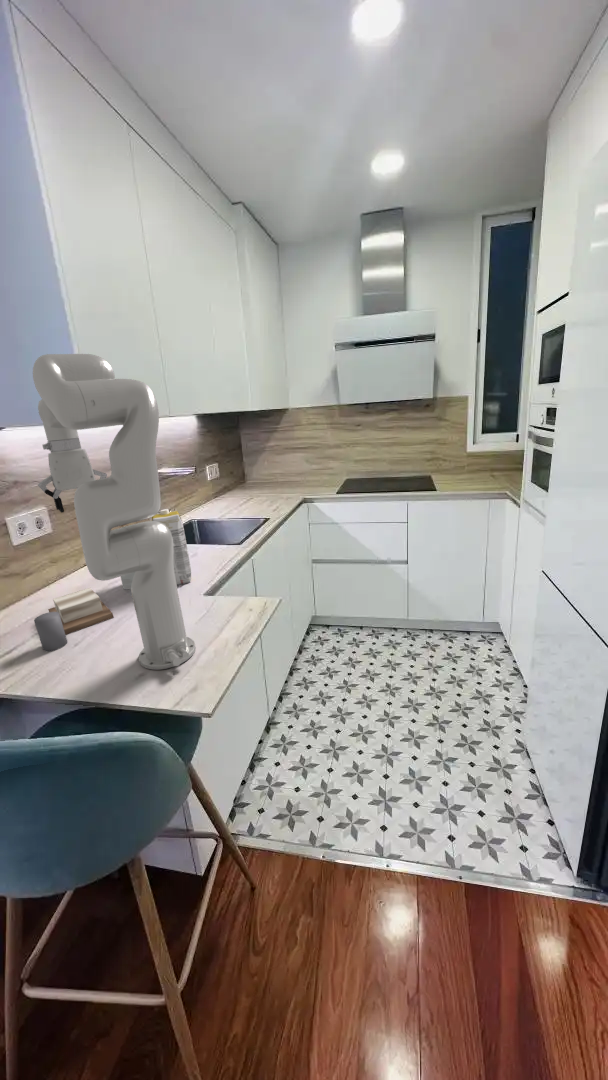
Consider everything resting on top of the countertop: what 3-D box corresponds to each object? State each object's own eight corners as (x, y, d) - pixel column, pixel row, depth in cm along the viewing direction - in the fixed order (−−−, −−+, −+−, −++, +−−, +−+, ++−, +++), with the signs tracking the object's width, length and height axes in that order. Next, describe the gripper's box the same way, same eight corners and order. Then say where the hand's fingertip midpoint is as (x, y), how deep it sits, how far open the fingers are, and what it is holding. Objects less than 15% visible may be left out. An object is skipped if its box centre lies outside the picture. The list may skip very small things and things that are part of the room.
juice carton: (191, 574, 148) (178, 505, 141) (193, 582, 141) (181, 510, 134) (162, 580, 146) (148, 510, 138) (164, 589, 138) (149, 515, 131)
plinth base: (113, 617, 122) (109, 599, 121) (62, 635, 115) (57, 616, 113) (96, 598, 136) (91, 582, 134) (49, 613, 128) (44, 596, 127)
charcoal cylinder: (69, 645, 110) (61, 616, 107) (45, 654, 107) (36, 625, 104) (64, 637, 114) (56, 609, 111) (41, 645, 111) (32, 617, 108)
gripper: (30, 451, 110) (48, 517, 115) (102, 442, 120) (116, 503, 125) (26, 450, 116) (44, 512, 121) (95, 441, 126) (108, 499, 131)
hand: (80, 507), depth 123 cm, fingers open, 9 cm apart
